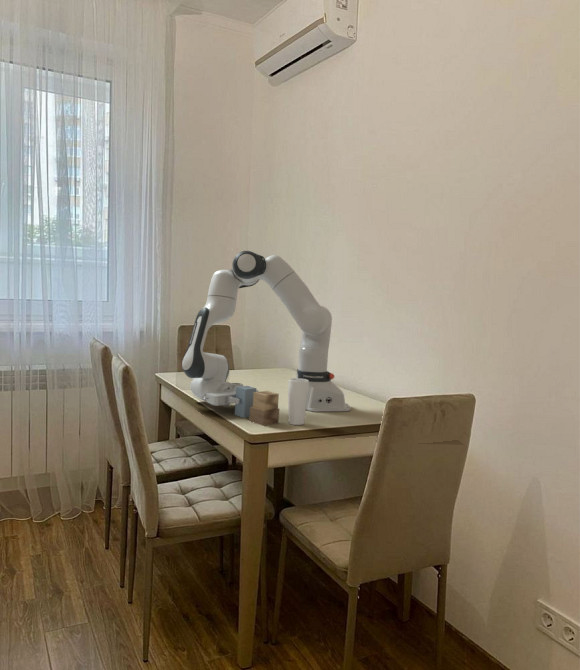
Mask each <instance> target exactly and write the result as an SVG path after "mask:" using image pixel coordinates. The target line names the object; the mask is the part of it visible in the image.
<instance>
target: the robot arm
mask: <svg viewBox="0 0 580 670" xmlns="http://www.w3.org/2000/svg"><path fill="white" fill-rule="evenodd" d="M231 266H232V268H230V269H219V270H216V271H215V272H214V273H213V275H212V276H211V279H210V283H209V287H208V292H207V299H206V301H205V302H206V303H205V304H204V306H203V307H202V308H200V310H199V311H198V312H197V314H196V317H195V321H194V324H193V327H192V331H191V334H190V338H189V341H188V344H187V348H186V351H185V352H184V355H183V357H182V359H181V368H182V371H183V373H184V374H185V375H186V377H188V378H190V379H191V382H190V385H189V388H190V391H191V393H192V395H193V396H194V397H196V398H197V399H199V400H201V401H204V402H206V403H207V404H209V405H211V406H218V407H219V406H220V407H226V406H229V405H232V404H234V405H235V404H241V403H242V402H241V401H242V399H240V398H236V387H241V386H244V383H241V382H240V383H239V382H229V381H227V379H228V376H229V374H230V363H229V361H228V358H227V357H226V356H225V355H222V354H217V353H211V352H210V353H209V352H204V345H205V342H206V338H207V334H208V332H209V329H210V328H211V327H212V326H213V325H215V324H220V323H223V322H227V321H229V320H230V319H231V317H233V316H234V314H235V312H236V307H237V301H238V300H237V299H238V291H239V289H242V288H250V287H253V286H255V285H256V284H257V283H258V282H259V281H260V280H261V281H264V282H265V283H267V284H268V285H269V287H270V288H271V290H272V291H273V292H274V293H275V295H276V296H277V297H278V298H279V300H280V301H281V302H282V303H283V305H285V307H286V309H287V310H288V312H289V314H290V315H291V317H292V318H293V320H294V321H295V322H296V324H297V325H298V327H299V328H300V330H301V331H302V334H301V335H302V336H301V340H300V346H299V352H298V353H299V354H298V366H297V367H298V368H297V370H296V373H295V375H296V377H295V378H301V379H307V380H309V389H308V398H307V404H306V410H307V411H309V412H349V411H351V405H349V404H348V403H346V397H345V393H344V392H343V391H342V390H341V389H340V388H339V387H338V386H337V385H336V383H334V382H333V381H332V380H334V379H335V375H334V373H332V372H330V371H328V359H329V347H330V341H331V331H332V326H333V325H332V323H333V316H332V313H331V311H330V310H329V309H328V308H327V307H325V306H324V305H321V304H320V303H319V302H318V301H317V299H316V298H315V297H314V295H313V293H312V292H311V290H310V288H309V287H308V286H307V285H306V283H305V282H304V281H303V280H302V279H301V277H300V276H299V275H298V274H297V273H296V271H295V270H294V269H293V268H292V267H291V265H289V263H288V262H286V261H285V260H284V259H283V257H281V256H279V255H277V254H272V255H269V256H267V257H266V258H265V256H263V255H260V254H258V253H255V252H254V251H252V250H251V251H250V250H243V251H240V252H238V253H237V254H236V255H235V256H234V257H233V261H232V265H231ZM256 392H260V391H259V390H258V389H256Z"/></svg>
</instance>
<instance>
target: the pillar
mask: <svg viewBox="0 0 580 670" xmlns="http://www.w3.org/2000/svg"><path fill="white" fill-rule="evenodd" d="M256 390H257V387H253V386H249V385H243V386H241V387H236V398H240V399H242V401H241V402H242V403H241V404H235V403H234V405H235V406H234V416H236V415H237V416H236V417H239V416H240V417H239V418H242V417H243V419H246V417H248V418H249V416H250V407H253V393H254V392H256Z"/></svg>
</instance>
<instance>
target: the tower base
mask: <svg viewBox="0 0 580 670" xmlns="http://www.w3.org/2000/svg"><path fill="white" fill-rule="evenodd" d="M248 418H249V419H248V421H249V422H250V421H251V422H250V423H253V422H254V424H257V425H260V426H268V425H275V424H279V423H280V422H279V421H280V408H279V407H278V409H271V410H261V409H258V408H254V407H250V416H249V417H248Z"/></svg>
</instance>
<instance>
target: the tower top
mask: <svg viewBox="0 0 580 670" xmlns="http://www.w3.org/2000/svg"><path fill="white" fill-rule="evenodd" d="M279 395H280V393H277V392H274V391H273V392H272V391H268V390H261V391H259V392H254V393H253V407H254V408H258V409H261V410H271V409H278V408H279Z"/></svg>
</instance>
